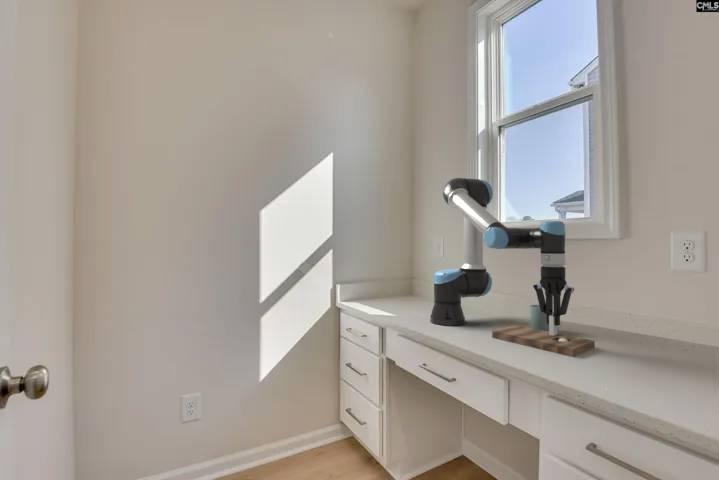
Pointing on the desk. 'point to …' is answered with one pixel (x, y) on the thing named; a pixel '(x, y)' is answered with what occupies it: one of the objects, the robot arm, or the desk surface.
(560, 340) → the ball
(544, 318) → the cup
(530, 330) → the board
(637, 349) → the desk surface
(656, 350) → the desk surface
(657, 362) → the desk surface
